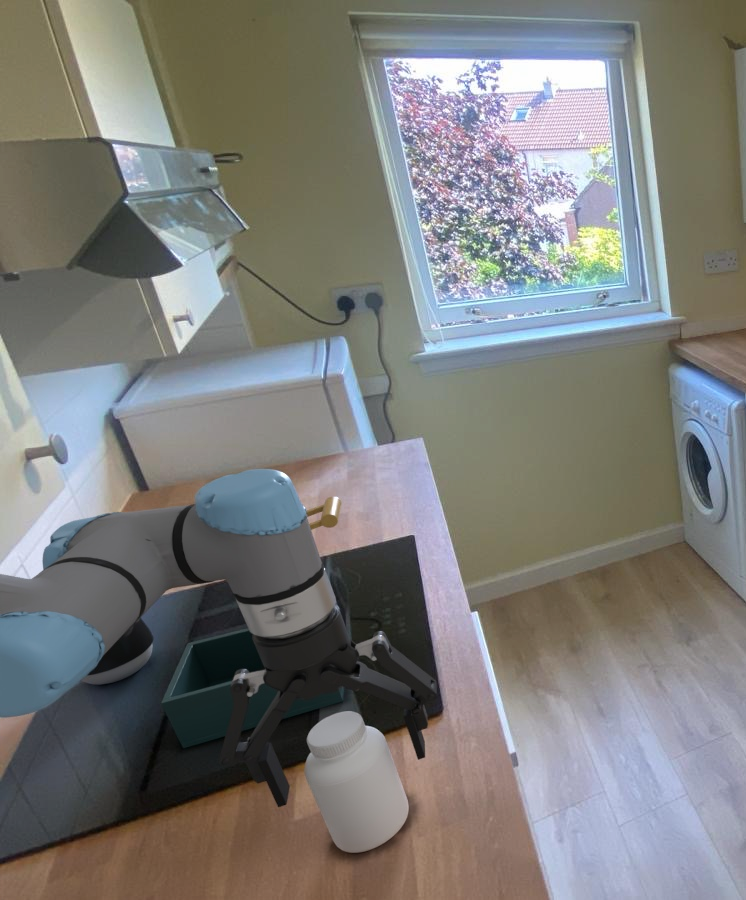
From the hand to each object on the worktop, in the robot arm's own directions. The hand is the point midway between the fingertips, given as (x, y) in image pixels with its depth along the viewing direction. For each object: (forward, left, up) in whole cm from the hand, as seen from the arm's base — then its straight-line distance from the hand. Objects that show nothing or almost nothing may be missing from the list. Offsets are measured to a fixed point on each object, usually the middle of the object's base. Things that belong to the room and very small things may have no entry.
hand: (355, 773), depth 82 cm
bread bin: (-14, +32, -8) cm, 36 cm away
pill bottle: (0, 0, -8) cm, 8 cm away
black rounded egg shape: (-36, +49, -8) cm, 62 cm away
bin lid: (-7, +32, +10) cm, 34 cm away
